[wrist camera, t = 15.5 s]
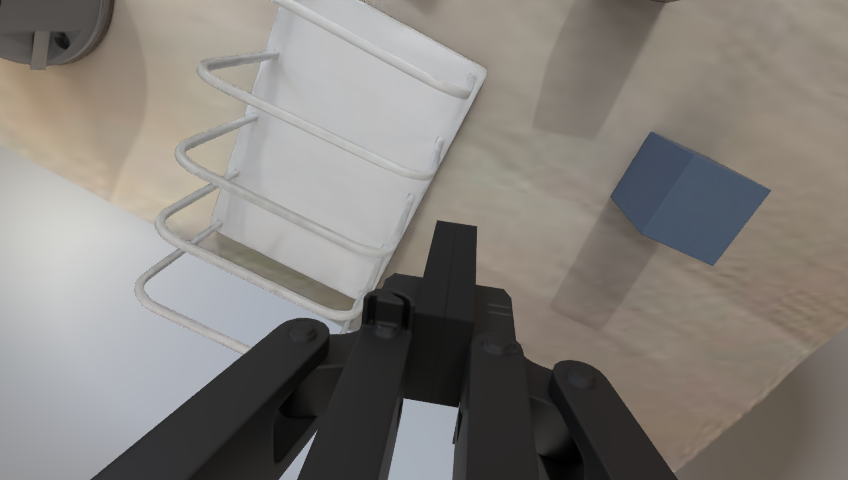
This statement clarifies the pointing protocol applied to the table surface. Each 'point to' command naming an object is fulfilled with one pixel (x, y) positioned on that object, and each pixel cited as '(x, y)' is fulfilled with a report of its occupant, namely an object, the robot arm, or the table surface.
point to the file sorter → (326, 150)
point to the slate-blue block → (686, 199)
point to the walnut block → (665, 1)
